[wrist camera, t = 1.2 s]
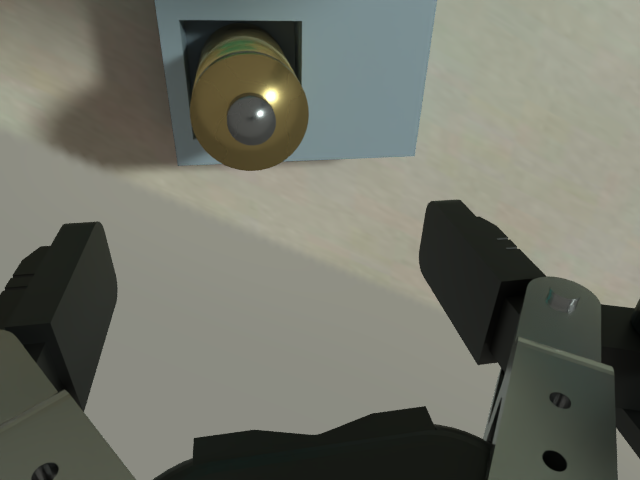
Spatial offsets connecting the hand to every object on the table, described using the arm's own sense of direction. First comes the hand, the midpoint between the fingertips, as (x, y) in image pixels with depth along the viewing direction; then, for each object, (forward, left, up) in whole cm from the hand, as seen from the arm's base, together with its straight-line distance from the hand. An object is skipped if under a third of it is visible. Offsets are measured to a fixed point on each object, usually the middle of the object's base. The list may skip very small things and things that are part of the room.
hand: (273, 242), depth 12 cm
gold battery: (0, 0, -19) cm, 19 cm away
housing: (-1, +3, -20) cm, 20 cm away
